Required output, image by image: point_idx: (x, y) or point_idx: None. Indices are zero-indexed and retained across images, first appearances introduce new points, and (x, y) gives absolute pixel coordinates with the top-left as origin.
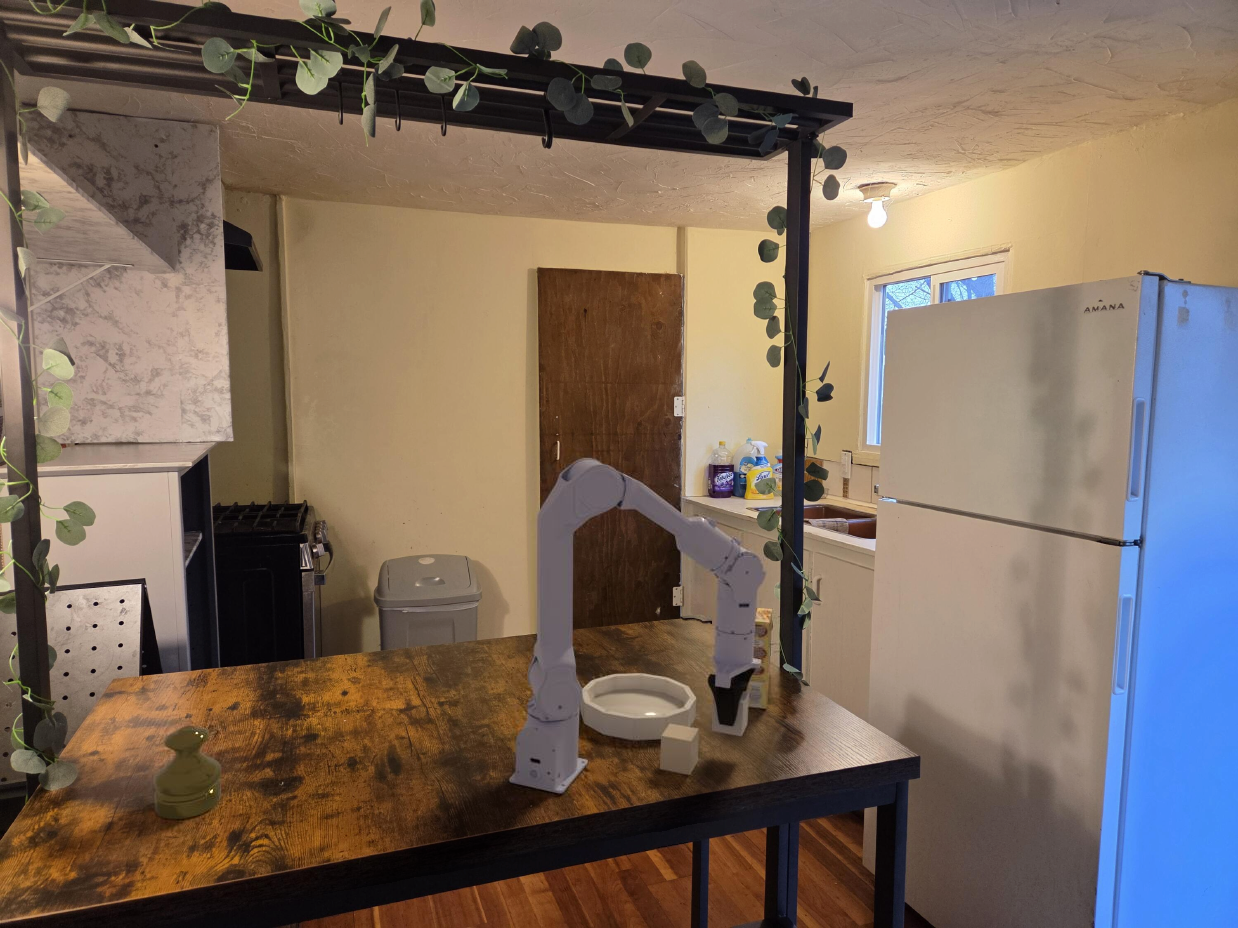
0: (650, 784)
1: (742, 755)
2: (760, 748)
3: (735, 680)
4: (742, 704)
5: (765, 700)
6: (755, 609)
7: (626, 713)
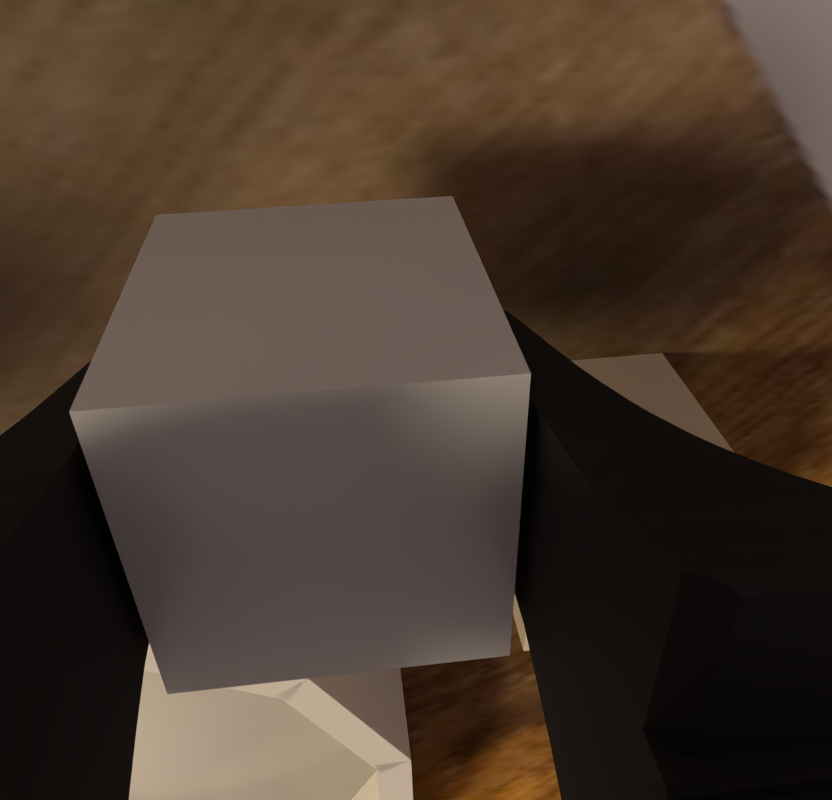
0: (799, 467)
1: (271, 138)
2: (61, 28)
3: (767, 764)
4: (524, 369)
5: None
6: None
7: (203, 771)
